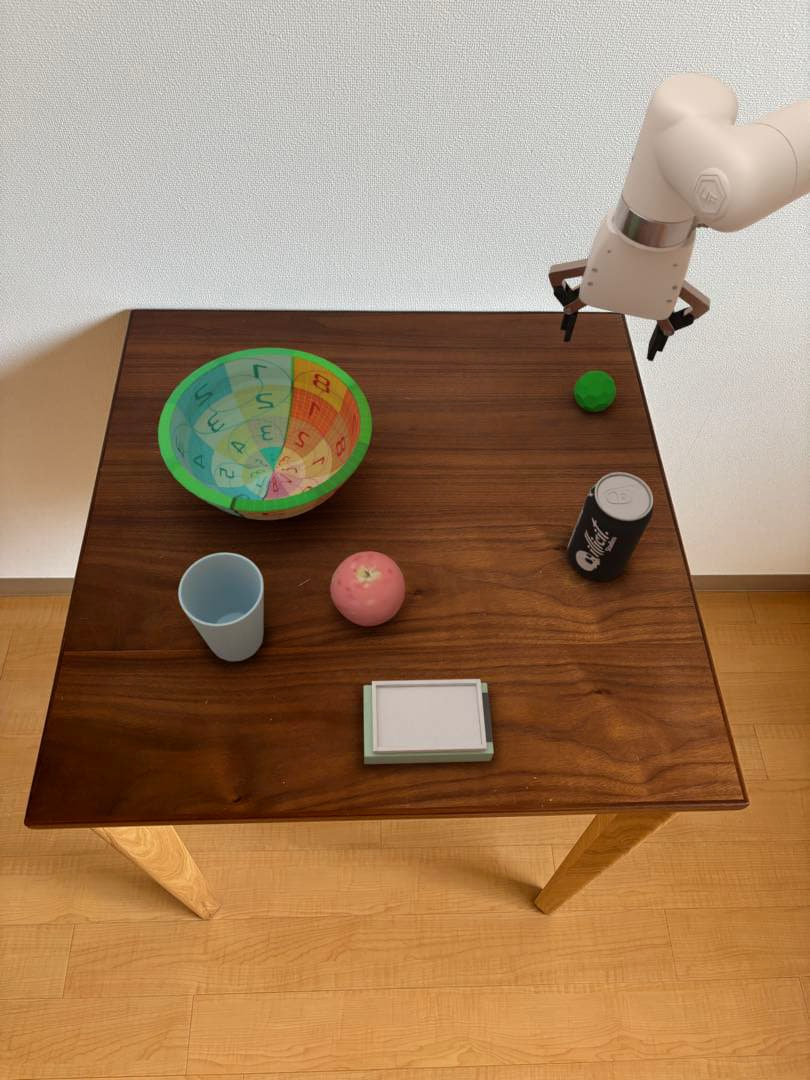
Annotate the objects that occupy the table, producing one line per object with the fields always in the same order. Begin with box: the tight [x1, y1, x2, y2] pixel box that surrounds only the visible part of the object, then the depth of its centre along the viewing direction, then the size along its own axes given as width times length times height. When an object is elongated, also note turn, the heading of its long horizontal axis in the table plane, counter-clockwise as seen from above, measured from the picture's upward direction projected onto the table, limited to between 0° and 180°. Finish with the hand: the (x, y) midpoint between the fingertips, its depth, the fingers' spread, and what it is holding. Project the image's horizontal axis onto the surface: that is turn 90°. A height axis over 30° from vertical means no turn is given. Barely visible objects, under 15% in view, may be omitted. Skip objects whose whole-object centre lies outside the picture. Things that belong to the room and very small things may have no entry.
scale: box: [363, 678, 495, 765], centre depth 77 cm, size 12×7×4 cm, turn 92°
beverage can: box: [566, 471, 654, 582], centre depth 85 cm, size 7×7×12 cm
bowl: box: [157, 347, 373, 521], centre depth 90 cm, size 22×22×10 cm
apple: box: [329, 550, 406, 627], centre depth 82 cm, size 7×7×8 cm
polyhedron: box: [573, 370, 617, 413], centre depth 100 cm, size 5×5×5 cm
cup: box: [177, 552, 265, 662], centre depth 79 cm, size 8×8×10 cm
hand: (609, 343), depth 94 cm, fingers open, 9 cm apart
